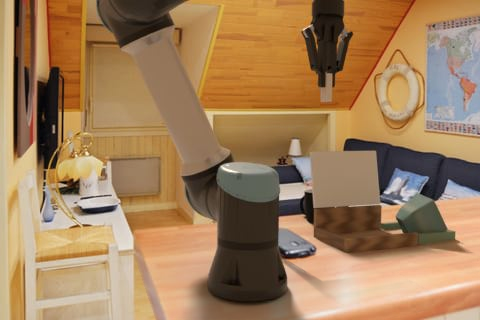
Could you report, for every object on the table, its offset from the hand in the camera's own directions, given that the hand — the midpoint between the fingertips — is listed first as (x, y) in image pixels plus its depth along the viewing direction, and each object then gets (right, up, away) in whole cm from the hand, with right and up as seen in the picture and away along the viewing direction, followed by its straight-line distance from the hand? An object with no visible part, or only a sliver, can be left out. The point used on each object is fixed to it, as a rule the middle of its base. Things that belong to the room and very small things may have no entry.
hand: (326, 101), depth 110 cm
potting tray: (+25, -34, +11) cm, 43 cm away
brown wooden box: (+10, -34, +5) cm, 36 cm away
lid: (+8, -19, +12) cm, 24 cm away
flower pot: (+21, -31, +9) cm, 39 cm away
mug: (+2, -33, +25) cm, 41 cm away
